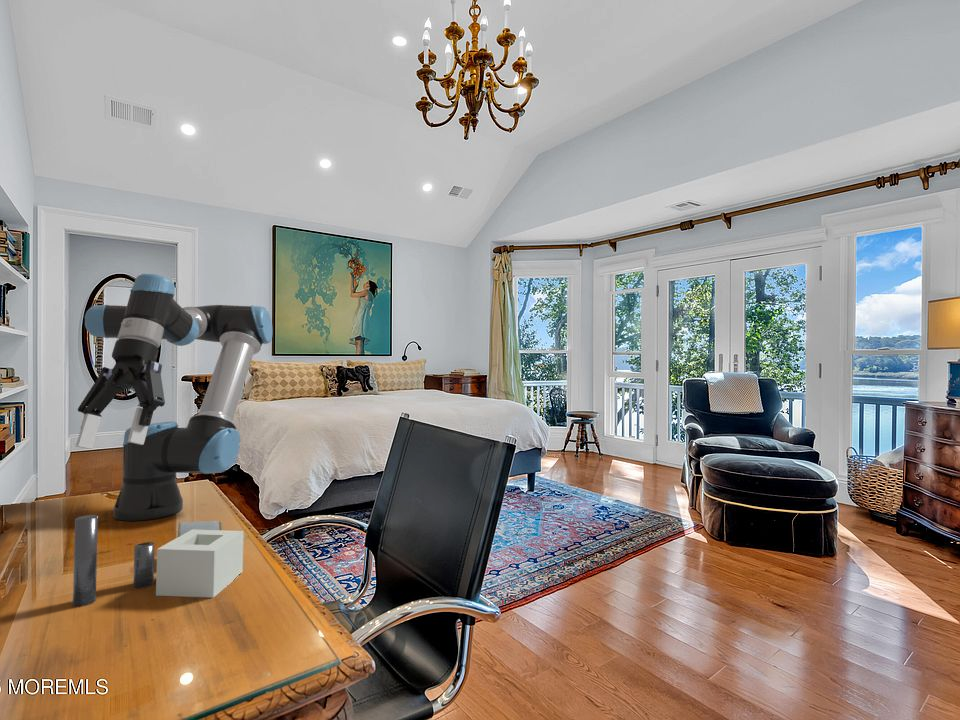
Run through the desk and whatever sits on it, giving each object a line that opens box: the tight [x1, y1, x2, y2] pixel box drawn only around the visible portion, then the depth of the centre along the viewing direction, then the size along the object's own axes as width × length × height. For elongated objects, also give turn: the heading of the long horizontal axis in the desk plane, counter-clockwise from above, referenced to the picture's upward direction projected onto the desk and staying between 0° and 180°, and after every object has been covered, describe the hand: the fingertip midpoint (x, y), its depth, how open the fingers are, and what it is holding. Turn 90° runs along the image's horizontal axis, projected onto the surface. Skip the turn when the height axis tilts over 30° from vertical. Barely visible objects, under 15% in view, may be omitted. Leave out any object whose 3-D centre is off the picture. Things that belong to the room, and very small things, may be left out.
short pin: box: [132, 541, 155, 589], centre depth 90 cm, size 3×3×7 cm
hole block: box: [155, 529, 245, 599], centre depth 90 cm, size 10×10×8 cm
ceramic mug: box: [177, 520, 224, 538], centre depth 103 cm, size 11×8×8 cm
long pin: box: [72, 514, 99, 608], centre depth 83 cm, size 3×3×14 cm
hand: (109, 445), depth 95 cm, fingers open, 13 cm apart
